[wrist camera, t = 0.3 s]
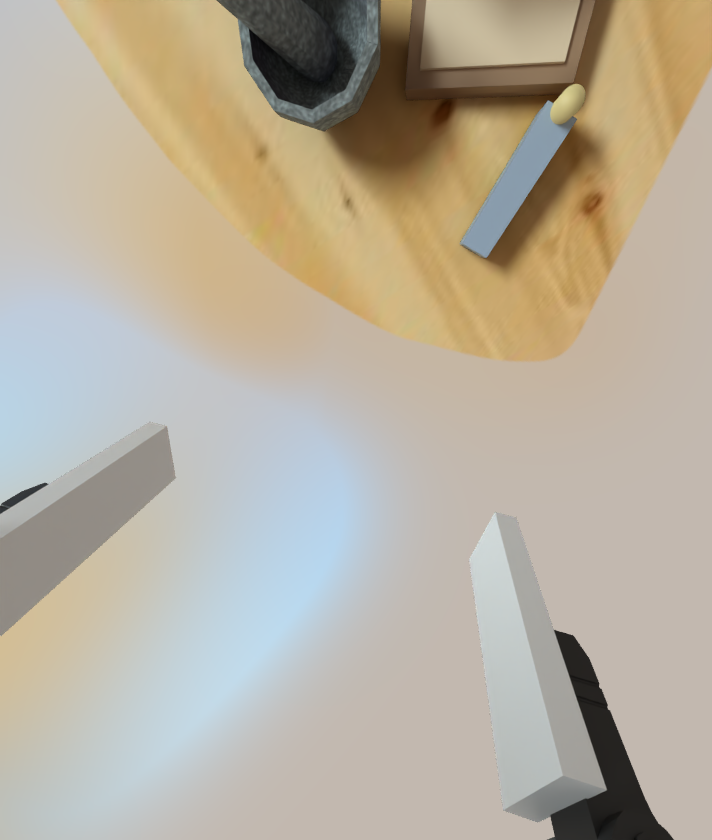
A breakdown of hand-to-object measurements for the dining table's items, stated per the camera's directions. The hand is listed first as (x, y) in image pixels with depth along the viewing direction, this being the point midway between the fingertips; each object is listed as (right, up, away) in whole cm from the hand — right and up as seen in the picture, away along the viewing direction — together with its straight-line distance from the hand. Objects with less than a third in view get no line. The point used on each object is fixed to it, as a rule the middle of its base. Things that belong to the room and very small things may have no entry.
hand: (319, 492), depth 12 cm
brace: (+15, +23, +15) cm, 31 cm away
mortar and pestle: (-1, +32, +14) cm, 35 cm away
